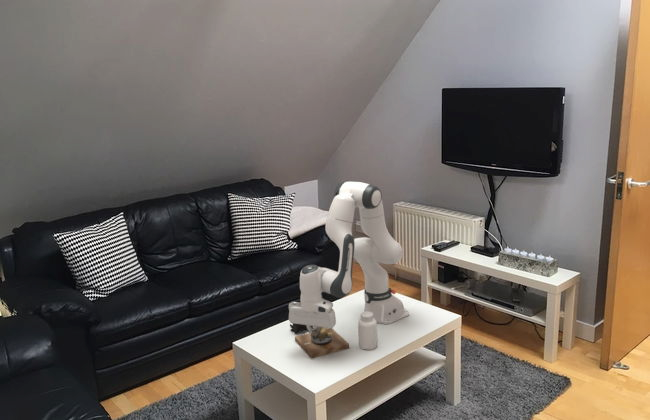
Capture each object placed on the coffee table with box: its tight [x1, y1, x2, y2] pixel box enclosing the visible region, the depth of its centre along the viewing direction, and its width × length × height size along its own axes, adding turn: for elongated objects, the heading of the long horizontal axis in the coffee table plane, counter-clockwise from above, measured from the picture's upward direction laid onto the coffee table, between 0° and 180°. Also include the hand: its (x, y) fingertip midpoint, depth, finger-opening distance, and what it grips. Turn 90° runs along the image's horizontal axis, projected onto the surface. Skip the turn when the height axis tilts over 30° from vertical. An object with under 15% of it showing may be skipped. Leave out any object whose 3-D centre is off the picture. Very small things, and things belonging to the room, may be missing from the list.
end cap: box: [289, 323, 314, 335], centre depth 260 cm, size 10×7×7 cm
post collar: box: [311, 332, 332, 345], centre depth 246 cm, size 9×9×2 cm
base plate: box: [294, 328, 350, 359], centre depth 247 cm, size 18×18×2 cm
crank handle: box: [312, 327, 332, 341], centre depth 240 cm, size 16×10×8 cm, turn 169°
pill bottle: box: [357, 311, 378, 351], centre depth 242 cm, size 8×8×15 cm
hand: (312, 334), depth 238 cm, fingers closed
